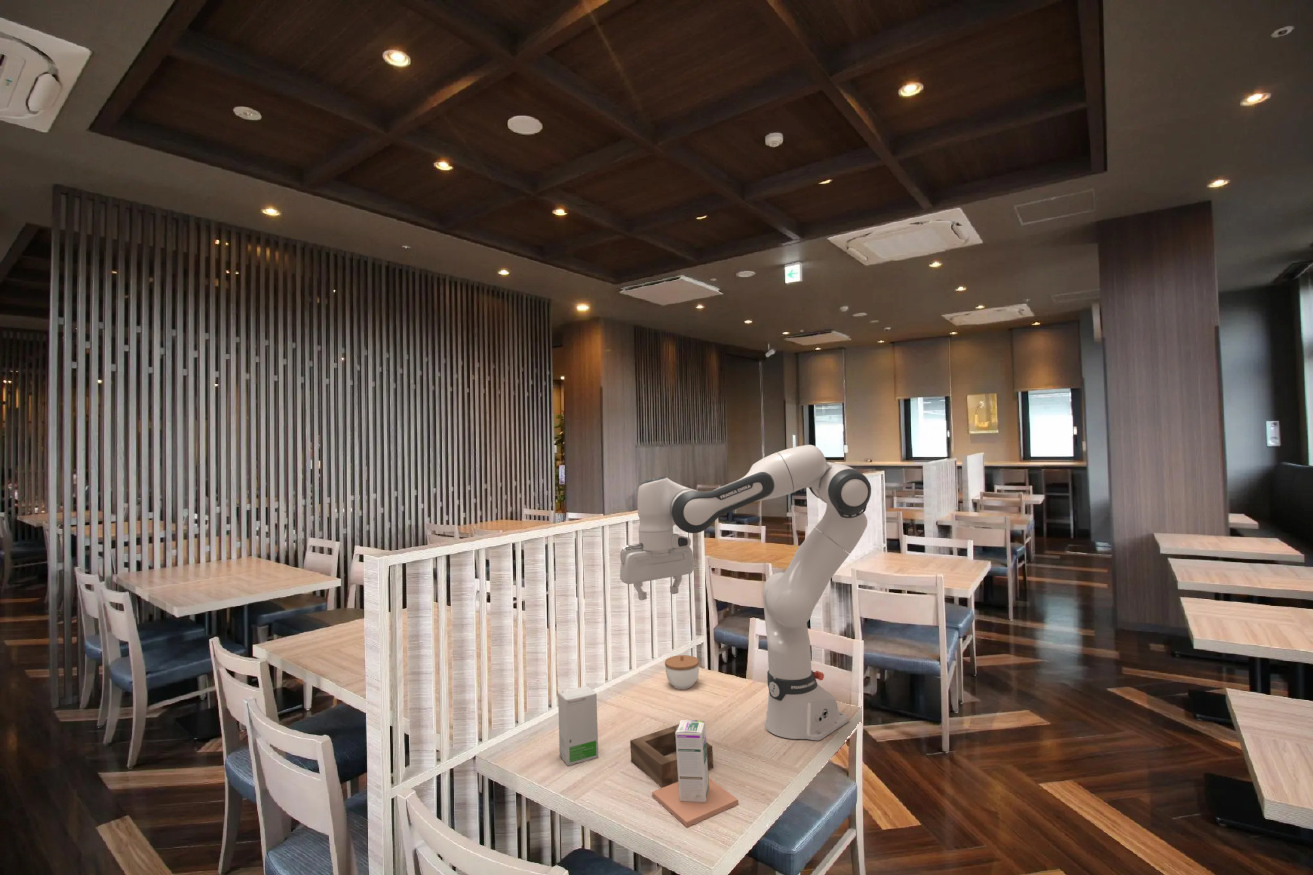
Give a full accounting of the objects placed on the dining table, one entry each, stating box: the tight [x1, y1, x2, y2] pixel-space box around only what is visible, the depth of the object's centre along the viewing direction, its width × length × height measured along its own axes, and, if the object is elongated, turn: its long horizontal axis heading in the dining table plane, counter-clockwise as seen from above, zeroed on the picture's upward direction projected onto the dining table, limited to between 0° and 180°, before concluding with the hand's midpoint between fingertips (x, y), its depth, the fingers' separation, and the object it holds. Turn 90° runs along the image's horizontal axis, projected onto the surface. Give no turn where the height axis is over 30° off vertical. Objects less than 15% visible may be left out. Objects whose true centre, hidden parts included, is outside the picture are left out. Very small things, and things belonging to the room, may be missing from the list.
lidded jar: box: [664, 654, 700, 690], centre depth 189 cm, size 11×11×9 cm
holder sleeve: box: [629, 723, 714, 788], centre depth 142 cm, size 14×14×5 cm
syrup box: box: [675, 719, 710, 803], centre depth 127 cm, size 6×6×14 cm
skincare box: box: [557, 685, 599, 766], centre depth 148 cm, size 8×7×16 cm
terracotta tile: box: [651, 778, 739, 828], centre depth 127 cm, size 13×13×1 cm
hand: (658, 596), depth 152 cm, fingers open, 8 cm apart
